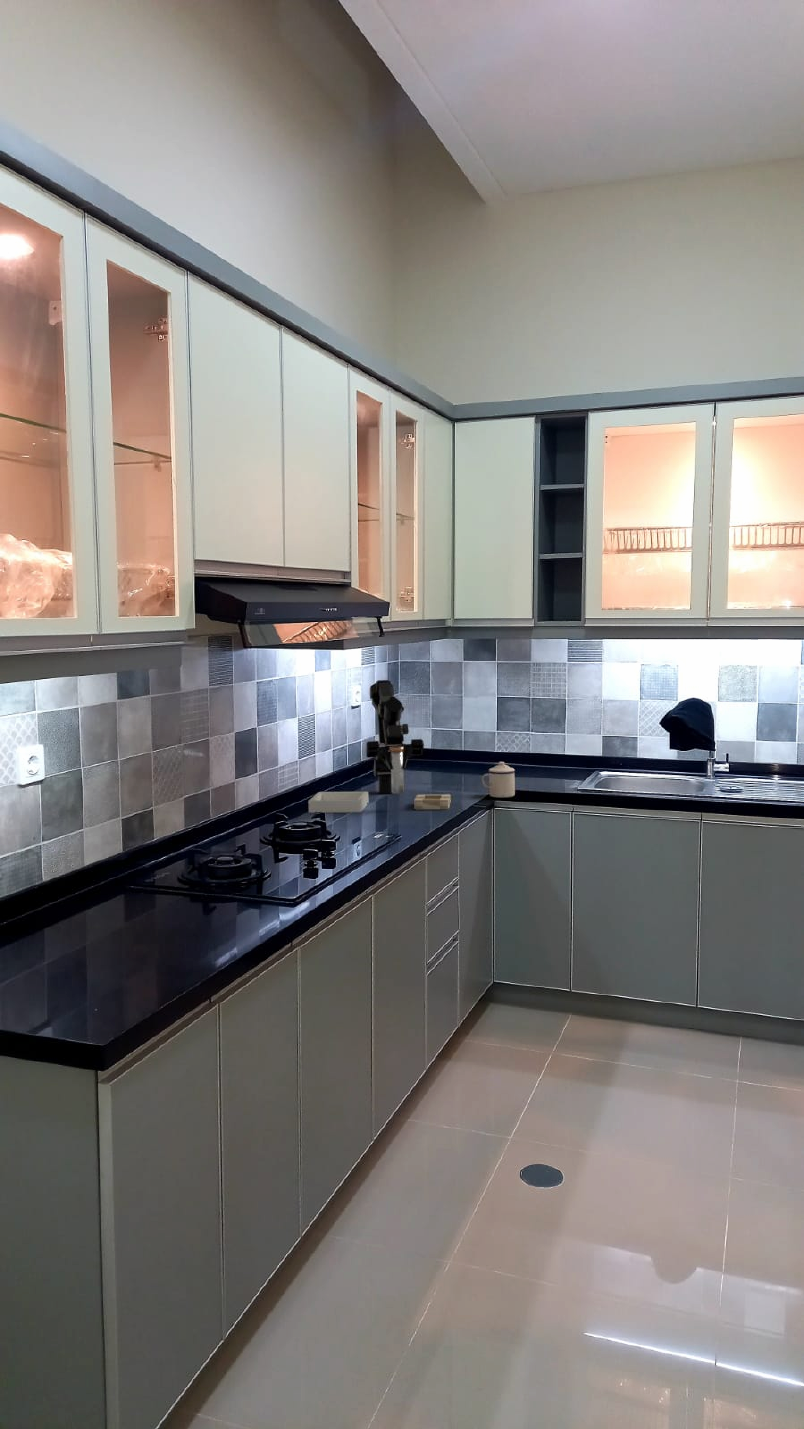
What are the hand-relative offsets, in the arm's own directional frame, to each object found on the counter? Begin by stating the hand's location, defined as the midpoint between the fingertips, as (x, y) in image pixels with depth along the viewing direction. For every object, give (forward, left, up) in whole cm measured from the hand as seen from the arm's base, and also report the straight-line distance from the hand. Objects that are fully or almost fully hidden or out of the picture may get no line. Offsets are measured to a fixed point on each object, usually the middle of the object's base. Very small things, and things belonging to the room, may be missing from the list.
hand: (397, 768), depth 328 cm
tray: (-5, -20, -13) cm, 25 cm away
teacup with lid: (-26, +32, -14) cm, 43 cm away
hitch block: (-6, +11, -13) cm, 18 cm away
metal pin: (-1, 0, -8) cm, 8 cm away
